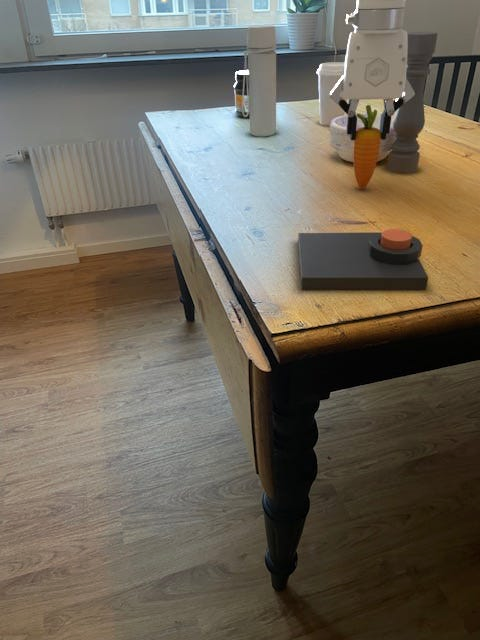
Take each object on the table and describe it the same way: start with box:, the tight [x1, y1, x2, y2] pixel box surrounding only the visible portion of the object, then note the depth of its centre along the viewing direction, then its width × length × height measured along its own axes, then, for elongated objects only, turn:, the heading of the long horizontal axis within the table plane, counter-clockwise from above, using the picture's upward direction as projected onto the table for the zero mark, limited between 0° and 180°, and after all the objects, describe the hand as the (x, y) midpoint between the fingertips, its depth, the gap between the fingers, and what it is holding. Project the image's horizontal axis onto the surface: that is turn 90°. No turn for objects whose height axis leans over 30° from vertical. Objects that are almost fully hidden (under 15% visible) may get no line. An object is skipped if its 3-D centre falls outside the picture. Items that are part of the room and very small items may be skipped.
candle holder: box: [386, 31, 439, 175], centre depth 98 cm, size 6×6×25 cm
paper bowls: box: [328, 113, 397, 163], centre depth 111 cm, size 15×15×8 cm
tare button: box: [380, 228, 413, 250], centre depth 68 cm, size 4×4×2 cm
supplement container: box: [233, 69, 250, 119], centre depth 151 cm, size 10×10×12 cm
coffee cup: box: [316, 61, 348, 127], centre depth 138 cm, size 10×10×15 cm
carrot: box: [352, 104, 381, 191], centre depth 92 cm, size 5×5×15 cm
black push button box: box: [297, 231, 429, 291], centre depth 70 cm, size 16×14×4 cm
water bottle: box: [242, 24, 278, 138], centre depth 127 cm, size 9×8×25 cm
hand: (367, 137), depth 91 cm, fingers closed on carrot, 4 cm apart
